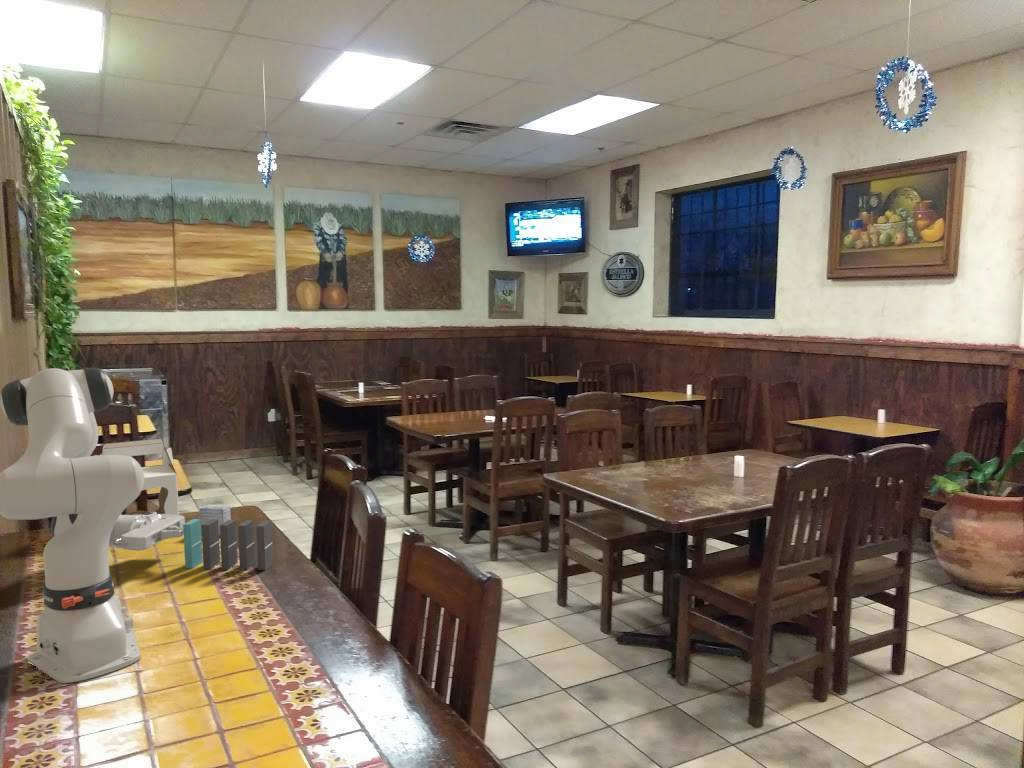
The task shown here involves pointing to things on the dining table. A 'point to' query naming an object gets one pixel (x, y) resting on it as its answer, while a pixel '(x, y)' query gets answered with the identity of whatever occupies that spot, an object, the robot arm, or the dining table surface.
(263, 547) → the black domino
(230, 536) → the black domino
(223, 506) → the medicine box
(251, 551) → the black domino
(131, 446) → the gable box
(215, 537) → the black domino
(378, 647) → the dining table surface
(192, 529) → the teal domino
